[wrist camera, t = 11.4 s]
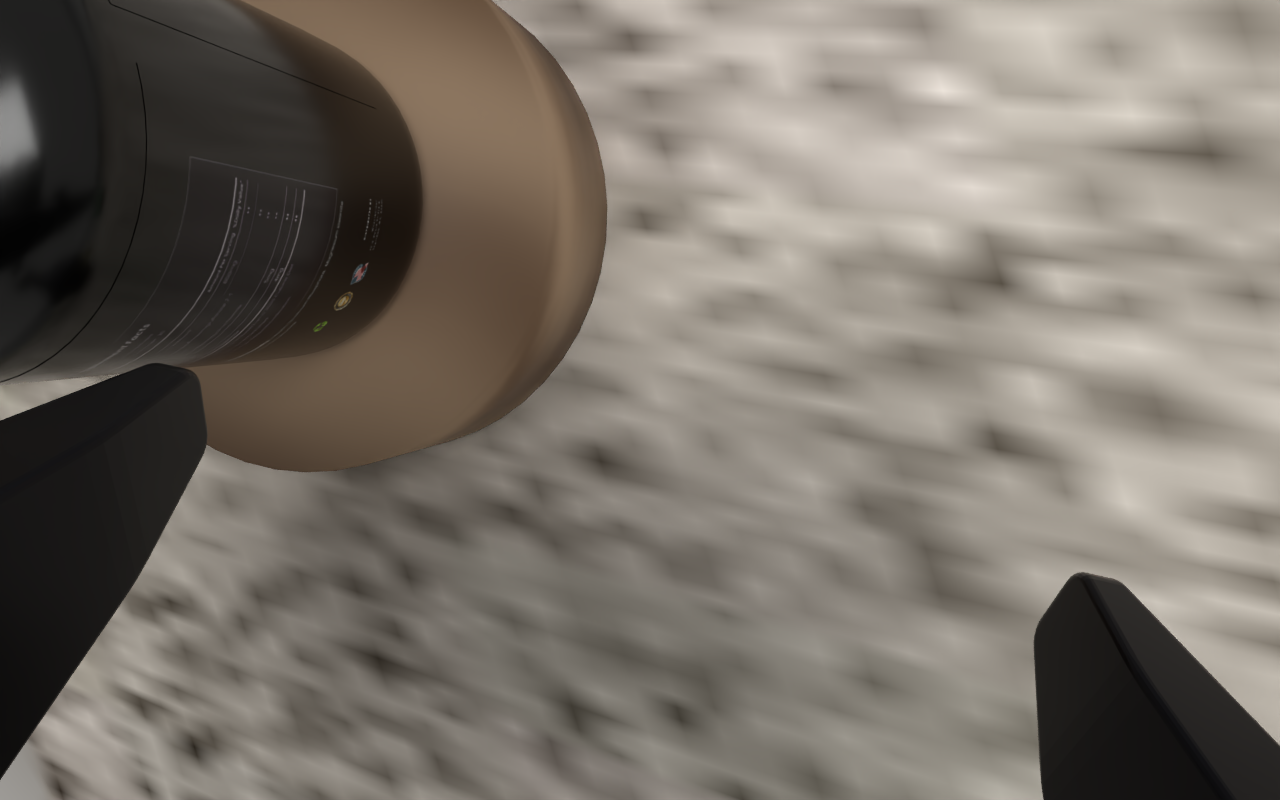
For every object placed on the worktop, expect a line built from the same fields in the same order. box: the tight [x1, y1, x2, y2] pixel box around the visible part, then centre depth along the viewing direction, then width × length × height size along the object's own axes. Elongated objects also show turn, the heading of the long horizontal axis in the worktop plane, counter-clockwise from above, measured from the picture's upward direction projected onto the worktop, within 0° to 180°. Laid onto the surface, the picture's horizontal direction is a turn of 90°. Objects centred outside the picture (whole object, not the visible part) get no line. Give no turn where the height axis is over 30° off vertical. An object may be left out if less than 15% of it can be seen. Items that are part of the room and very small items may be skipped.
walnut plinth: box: [185, 0, 607, 472], centre depth 22 cm, size 12×12×4 cm
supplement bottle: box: [0, 0, 423, 385], centre depth 14 cm, size 7×7×12 cm
